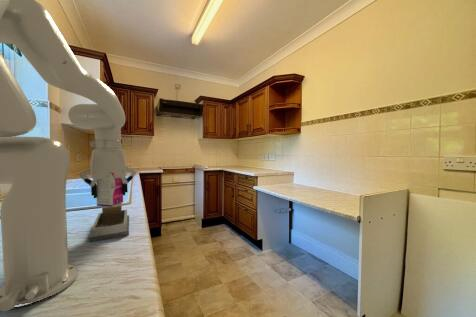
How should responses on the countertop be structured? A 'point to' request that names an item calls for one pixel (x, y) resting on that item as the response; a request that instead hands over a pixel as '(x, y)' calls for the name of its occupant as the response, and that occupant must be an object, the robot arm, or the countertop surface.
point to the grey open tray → (110, 223)
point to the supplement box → (109, 191)
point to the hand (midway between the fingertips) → (110, 195)
